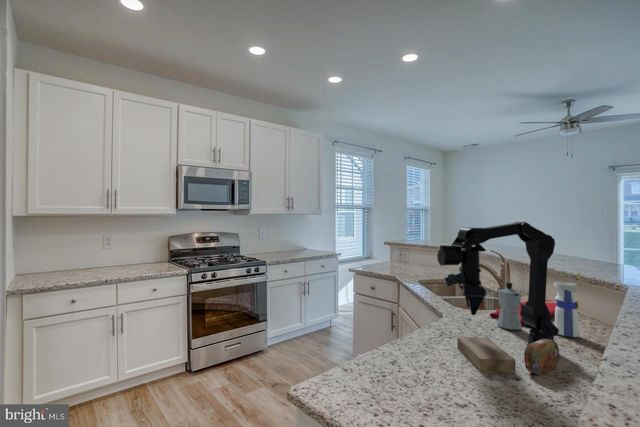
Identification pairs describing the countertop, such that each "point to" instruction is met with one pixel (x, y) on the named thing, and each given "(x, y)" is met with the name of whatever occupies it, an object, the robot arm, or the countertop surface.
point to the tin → (541, 356)
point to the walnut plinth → (486, 355)
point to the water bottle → (567, 308)
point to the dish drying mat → (550, 304)
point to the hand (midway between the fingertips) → (471, 310)
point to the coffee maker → (509, 308)
